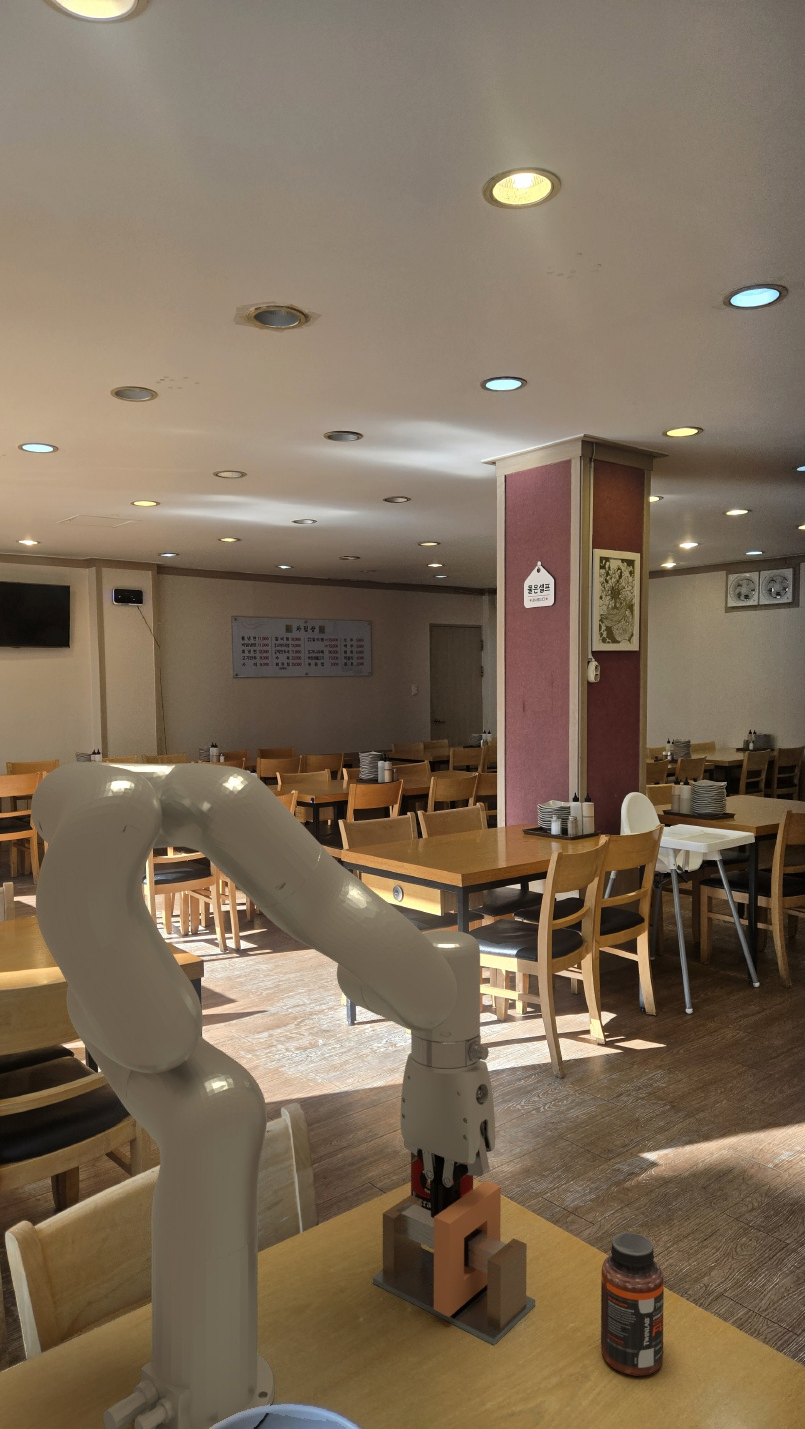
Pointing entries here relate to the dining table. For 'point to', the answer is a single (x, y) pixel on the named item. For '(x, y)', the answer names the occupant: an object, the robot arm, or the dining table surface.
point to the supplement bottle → (632, 1306)
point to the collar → (462, 1246)
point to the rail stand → (503, 1264)
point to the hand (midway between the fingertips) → (445, 1214)
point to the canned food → (422, 1184)
